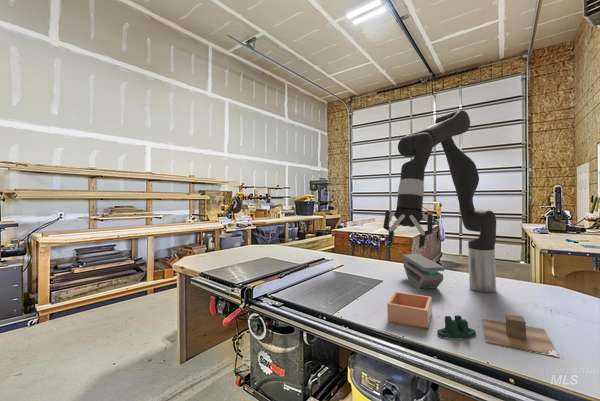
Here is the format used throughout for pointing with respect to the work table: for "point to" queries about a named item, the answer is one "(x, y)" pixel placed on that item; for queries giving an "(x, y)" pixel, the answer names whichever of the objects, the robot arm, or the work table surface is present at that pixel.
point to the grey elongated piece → (422, 271)
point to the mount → (456, 328)
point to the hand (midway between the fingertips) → (405, 245)
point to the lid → (517, 335)
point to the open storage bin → (410, 309)
